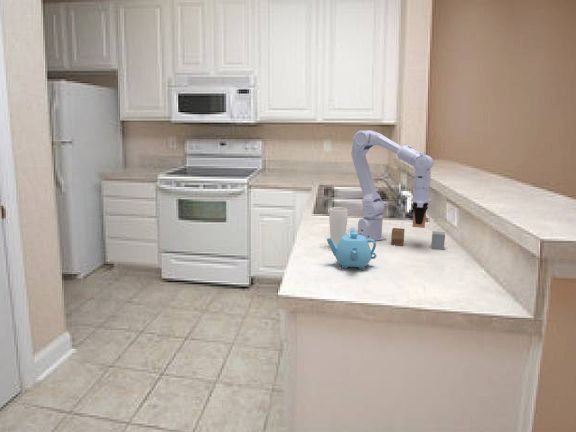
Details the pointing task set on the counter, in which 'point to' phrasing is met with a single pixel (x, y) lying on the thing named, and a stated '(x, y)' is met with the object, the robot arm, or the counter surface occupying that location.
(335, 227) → the drinking glass
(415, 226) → the terracotta block
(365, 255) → the teapot
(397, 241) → the walnut block
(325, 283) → the counter surface
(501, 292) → the counter surface
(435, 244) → the slate block
